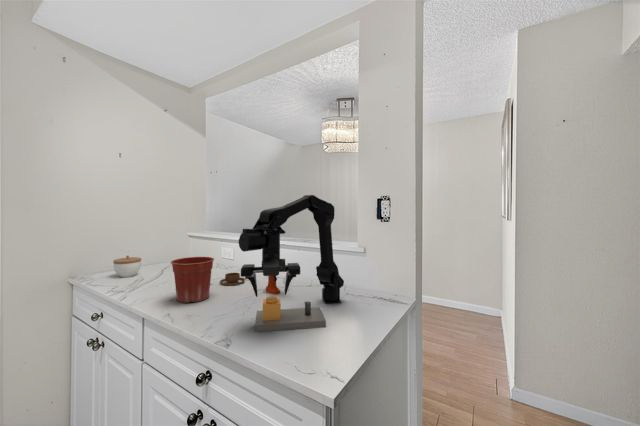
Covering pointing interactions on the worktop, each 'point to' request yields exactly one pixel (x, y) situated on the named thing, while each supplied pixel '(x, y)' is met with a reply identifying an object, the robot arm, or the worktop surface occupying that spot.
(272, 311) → the orange knobbed cube
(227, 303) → the worktop surface
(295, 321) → the grey peg board
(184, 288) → the flower pot
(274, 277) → the toy drill
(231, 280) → the brown cup and saucer
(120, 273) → the lidded bowl
